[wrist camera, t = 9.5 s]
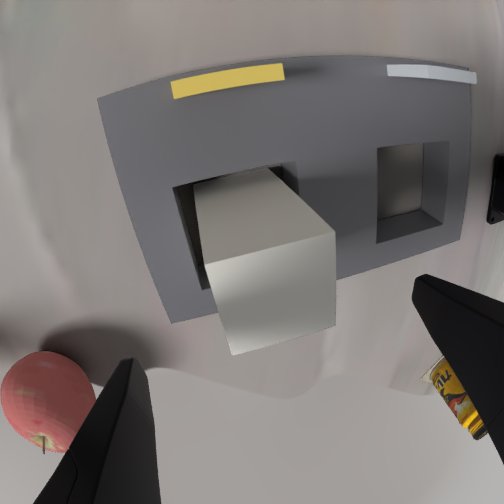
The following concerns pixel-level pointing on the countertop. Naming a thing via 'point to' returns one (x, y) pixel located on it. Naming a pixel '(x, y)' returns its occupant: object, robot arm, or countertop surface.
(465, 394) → the condiment
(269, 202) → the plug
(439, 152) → the socket plate
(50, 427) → the apple
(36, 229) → the countertop surface
